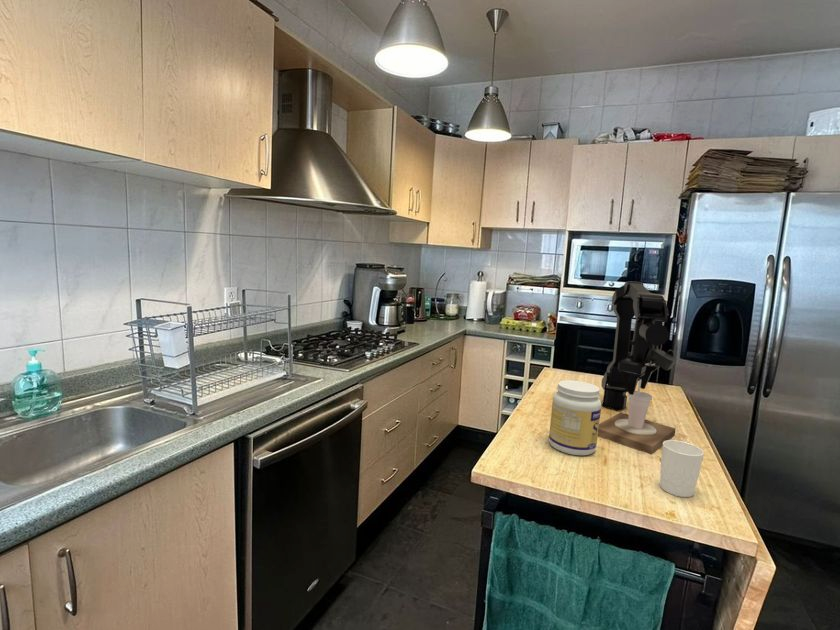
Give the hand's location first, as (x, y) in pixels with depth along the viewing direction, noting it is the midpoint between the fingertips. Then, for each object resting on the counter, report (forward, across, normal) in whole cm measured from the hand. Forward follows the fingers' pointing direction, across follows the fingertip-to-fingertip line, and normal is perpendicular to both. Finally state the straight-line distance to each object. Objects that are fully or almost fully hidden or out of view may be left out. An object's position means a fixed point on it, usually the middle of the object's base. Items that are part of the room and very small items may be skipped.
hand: (637, 391), depth 130 cm
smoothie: (+10, 0, -1) cm, 10 cm away
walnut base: (+13, 0, -1) cm, 13 cm away
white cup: (+13, -25, -19) cm, 34 cm away
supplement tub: (+13, -23, +7) cm, 27 cm away
